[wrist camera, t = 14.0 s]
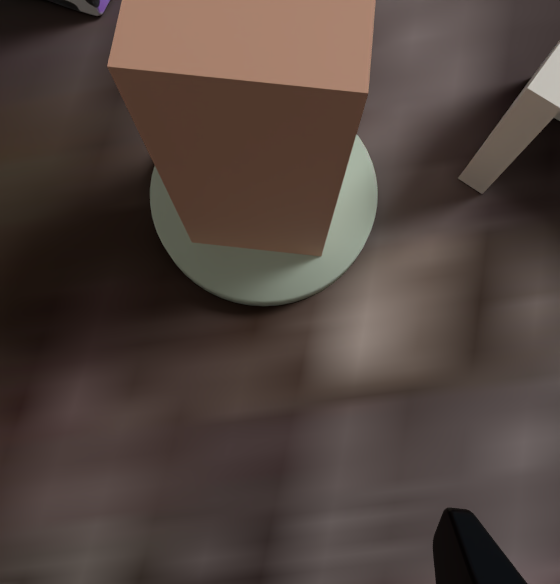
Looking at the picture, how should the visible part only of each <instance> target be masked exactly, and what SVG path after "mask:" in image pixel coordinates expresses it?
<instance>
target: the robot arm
mask: <svg viewBox="0 0 560 584" xmlns="http://www.w3.org/2000/svg"><path fill="white" fill-rule="evenodd" d="M433 557H434V567H435V577H436V584H527V583H526V581H525V580H524V579H523V578H522V576H521V575H520V574H519V572H518V571H517V570H516V568H515V567H514V566H513V564H512V563H511V562H510V561H509V559H508V558H507V557H506V555H505V554H504V553H503V551H502V550H501V549H500V548H499V546H498V545H497V544H496V542H495V541H494V540H493V538H492V537H491V536H490V535H489V533H488V532H487V531H486V529H485V528H484V527H483V525H482V524H481V523H480V522H479V520H478V519H477V518H476V516H475V515H474V514H473V513H472V512H471V511H469V510H466V509H458V508H446V509H445V510H444V512H443V514H442V516H441V519H440V522H439V524H438V527H437V529H436V532H435V535H434V538H433Z"/></svg>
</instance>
